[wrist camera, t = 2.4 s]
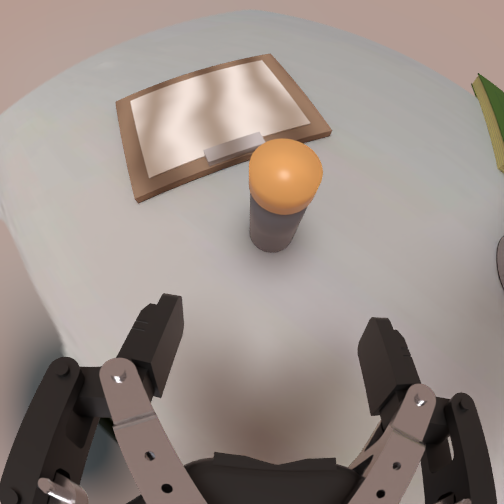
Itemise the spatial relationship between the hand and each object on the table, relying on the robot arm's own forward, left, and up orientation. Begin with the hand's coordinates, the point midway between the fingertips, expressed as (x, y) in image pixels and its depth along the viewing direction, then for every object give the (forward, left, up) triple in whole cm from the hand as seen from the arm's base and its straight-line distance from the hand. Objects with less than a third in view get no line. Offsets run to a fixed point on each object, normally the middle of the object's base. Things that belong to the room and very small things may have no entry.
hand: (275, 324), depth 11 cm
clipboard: (-4, -23, -13) cm, 27 cm away
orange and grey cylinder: (-4, -7, -13) cm, 15 cm away
